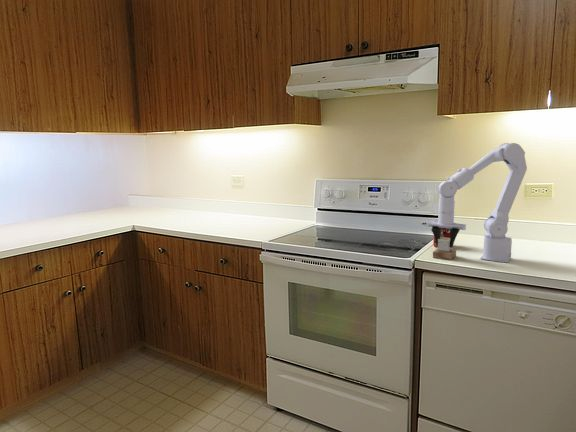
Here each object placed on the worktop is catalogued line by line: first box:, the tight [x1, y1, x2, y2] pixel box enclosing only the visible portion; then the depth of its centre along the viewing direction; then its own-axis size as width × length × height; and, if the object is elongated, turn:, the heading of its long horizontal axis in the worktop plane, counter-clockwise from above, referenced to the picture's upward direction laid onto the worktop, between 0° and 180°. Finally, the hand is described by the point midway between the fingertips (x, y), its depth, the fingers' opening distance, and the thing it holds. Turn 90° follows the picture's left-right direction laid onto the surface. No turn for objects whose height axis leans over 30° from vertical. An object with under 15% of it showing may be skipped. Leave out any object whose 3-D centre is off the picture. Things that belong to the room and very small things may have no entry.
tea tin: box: [438, 237, 453, 252], centre depth 164 cm, size 5×5×5 cm
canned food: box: [432, 219, 451, 249], centre depth 181 cm, size 8×8×11 cm
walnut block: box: [432, 247, 457, 261], centre depth 165 cm, size 7×7×2 cm
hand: (444, 246), depth 164 cm, fingers closed on tea tin, 4 cm apart
